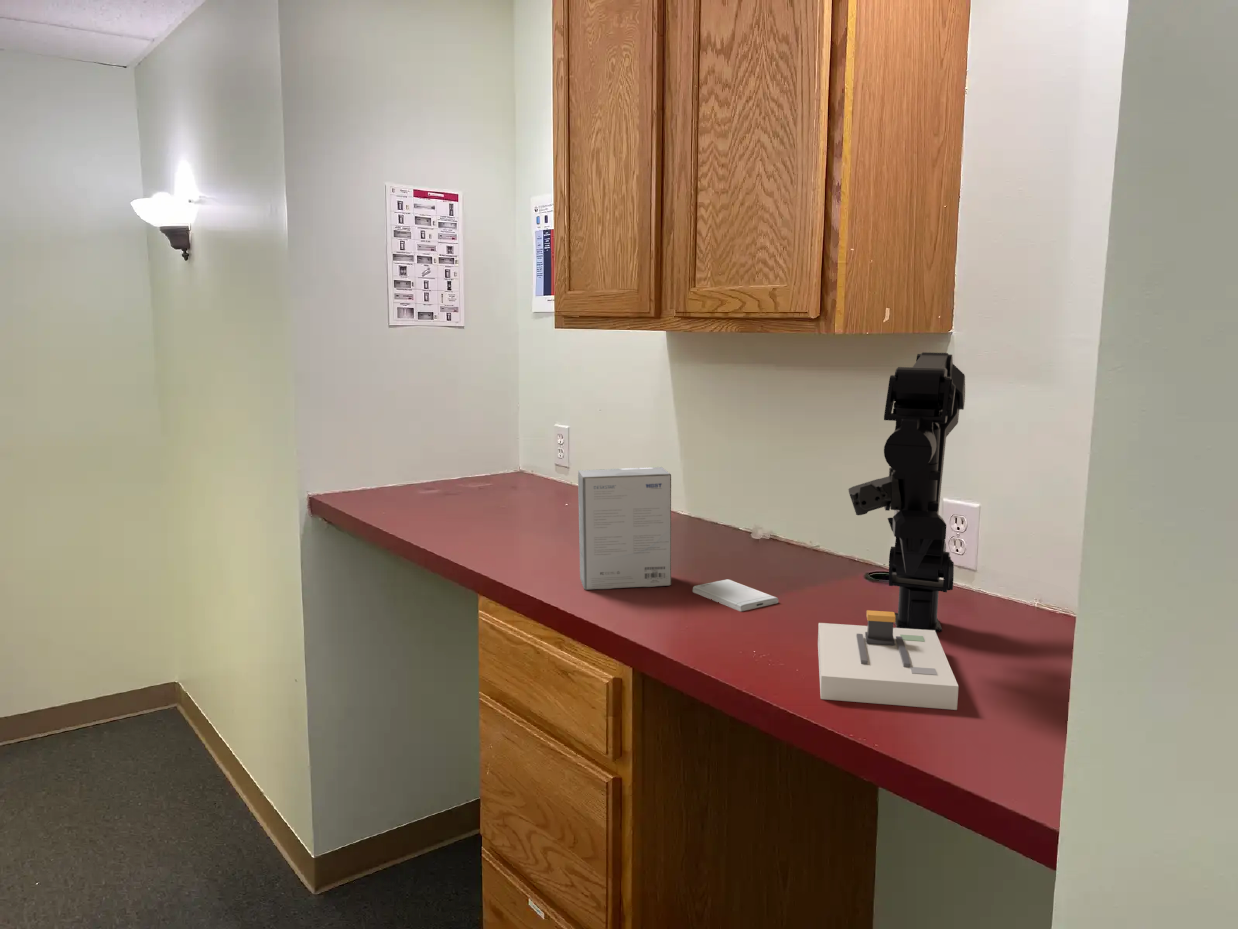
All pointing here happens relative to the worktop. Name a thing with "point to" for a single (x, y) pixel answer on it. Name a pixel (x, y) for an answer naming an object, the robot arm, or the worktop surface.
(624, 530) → the hard drive box
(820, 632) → the breaker box
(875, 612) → the breaker toggle
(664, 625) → the worktop surface
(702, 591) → the hard drive
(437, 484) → the worktop surface
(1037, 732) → the worktop surface
